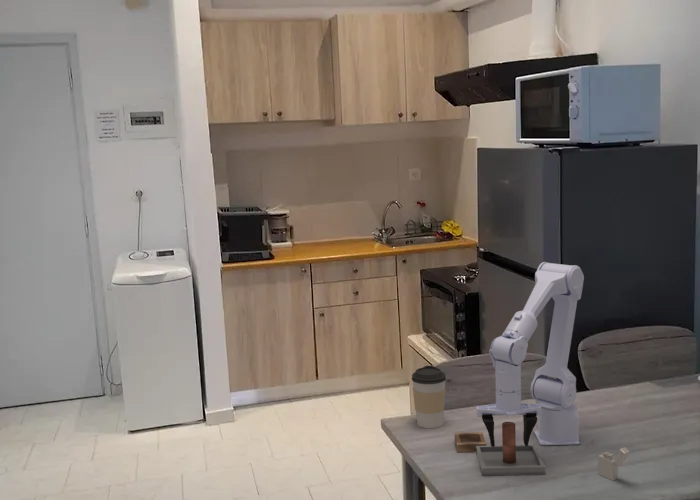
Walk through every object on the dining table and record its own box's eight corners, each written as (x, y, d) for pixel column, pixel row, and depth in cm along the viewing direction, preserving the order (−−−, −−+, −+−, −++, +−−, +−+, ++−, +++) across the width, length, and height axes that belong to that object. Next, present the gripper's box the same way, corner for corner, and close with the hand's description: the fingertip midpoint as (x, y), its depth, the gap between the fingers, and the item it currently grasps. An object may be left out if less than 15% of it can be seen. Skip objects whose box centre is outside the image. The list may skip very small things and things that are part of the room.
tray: (534, 451, 176) (534, 444, 176) (545, 474, 164) (545, 466, 164) (476, 452, 177) (476, 445, 176) (482, 475, 165) (482, 468, 165)
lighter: (597, 473, 163) (597, 439, 162) (602, 471, 164) (603, 437, 163) (624, 485, 157) (624, 450, 156) (629, 483, 158) (630, 448, 157)
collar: (482, 439, 184) (482, 432, 184) (486, 451, 177) (486, 443, 177) (454, 440, 184) (454, 432, 184) (457, 452, 178) (457, 444, 177)
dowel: (514, 457, 172) (514, 421, 170) (516, 463, 169) (516, 426, 167) (501, 458, 172) (501, 421, 170) (503, 463, 169) (503, 426, 168)
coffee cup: (445, 430, 191) (444, 375, 188) (411, 429, 193) (409, 374, 190) (448, 417, 200) (446, 364, 197) (415, 416, 201) (413, 363, 199)
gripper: (478, 395, 164) (479, 452, 166) (544, 393, 163) (544, 451, 165) (474, 384, 171) (476, 439, 173) (537, 383, 170) (538, 438, 172)
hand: (509, 444), depth 170 cm, fingers open, 7 cm apart
